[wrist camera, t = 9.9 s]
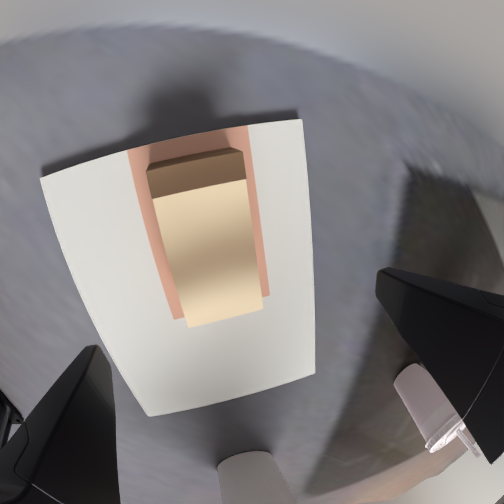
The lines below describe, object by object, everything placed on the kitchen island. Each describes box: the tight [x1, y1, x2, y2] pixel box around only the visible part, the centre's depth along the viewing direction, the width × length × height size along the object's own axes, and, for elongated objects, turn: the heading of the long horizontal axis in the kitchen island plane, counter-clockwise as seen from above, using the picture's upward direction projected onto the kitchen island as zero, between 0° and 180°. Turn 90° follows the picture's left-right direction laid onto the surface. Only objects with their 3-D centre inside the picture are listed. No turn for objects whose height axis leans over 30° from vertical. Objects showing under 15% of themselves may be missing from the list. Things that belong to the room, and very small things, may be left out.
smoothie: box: [394, 363, 481, 459], centre depth 23 cm, size 6×6×14 cm
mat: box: [40, 119, 315, 417], centre depth 18 cm, size 19×14×1 cm
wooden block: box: [146, 147, 263, 328], centre depth 15 cm, size 8×4×2 cm, turn 5°
